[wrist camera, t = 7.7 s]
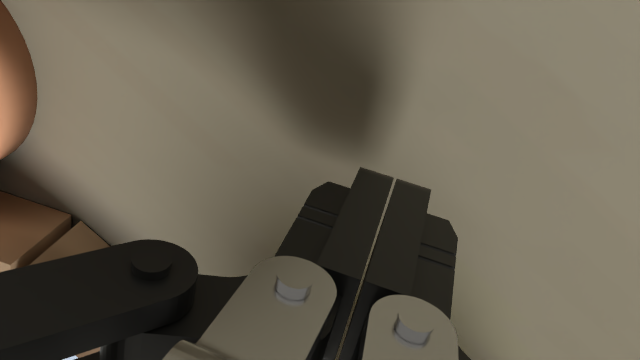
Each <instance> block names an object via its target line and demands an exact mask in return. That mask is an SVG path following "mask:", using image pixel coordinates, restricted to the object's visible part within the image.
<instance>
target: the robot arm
mask: <svg viewBox="0 0 640 360" xmlns="http://www.w3.org/2000/svg"><path fill="white" fill-rule="evenodd" d="M393 179H394V178H393V177H390V176H387V175H383V174H380V173H377V172H374V171H371V170H368V169H365V168H362V167H360V169H359V171H358V173H357V175H356V178H355V180H354V182H353V184H352V186H351V189H350V188H347V187H344V186H341V185H338V184H335V183H332V182H327V183H325V184H323V185H321V186H319V187H317V188H315V189H313V190H312V191H311V193H310V195H309V197H308V199H307V200H306V202H305V204H304V207H302V209H301V211H300V213H299V214H298V217H297V218H296V220H295V221H294V223H293V225H292V227H291V228H290V230H289V232H288V234H287V235H286V237H285V239H284V241H283V242H282V244H281V246H280V248H279V249H278V251H277V253H276V255H275V257H271V258H267V259H265V260H263V261H261V262H260V263H258V264H257V265H256V266H255V267H254V268H253V269H252V271H251V272H250V273H249V275H247V276H242V277H219V276H209V275H200V274H198V266H197V263H196V261H195V259H194V258H193V256H192V255H191V254H190V253H189V252H188V251H186V250H185V249H183V248H182V247H180V246H178V245H175V244H173V243H170V242H166V241H161V240H138V241H132V242H128V243H124V244H119V245H115V246H111V247H106V248H102V249H98V250H94V251H89V252H85V253H81V254H76V255H72V256H68V257H63V258H59V259H55V260H50V261H46V262H42V263H37V264H33V265H29V266H24V267H20V268H16V269H11V270H7V271H3V272H0V360H62V359H65V358H68V357H71V356H74V355H77V354H81V353H84V352H87V351H90V350H93V349H96V348H99V347H100V351H98V352H95V353H93V354H90V355H87V356H84V357H81V358H78V359H75V360H335V357H336V354H337V351H338V348H339V345H340V342H341V339H342V336H343V333H344V330H345V327H346V323H347V320H348V317H349V314H350V311H351V308H352V305H353V302H354V299H355V296H356V293H357V290H358V287H359V284H360V281H361V278H362V275H363V272H364V268H365V265H366V262H367V259H368V256H369V253H370V250H371V247H372V244H373V241H374V238H375V234H376V231H377V228H378V225H379V222H380V219H381V216H382V213H383V210H384V207H385V204H386V200H387V197H388V194H389V191H390V188H391V185H392V182H393ZM430 192H431V189H427V188H424V187H421V186H418V185H415V184H412V183H409V182H406V181H403V180H399V179H397V180H396V183H395V186H394V189H393V192H392V195H391V198H390V201H389V204H388V207H387V210H386V213H385V216H384V219H383V222H382V225H381V228H380V231H379V234H378V237H377V240H376V243H375V246H374V249H373V252H372V255H371V259H370V262H369V265H368V268H367V271H366V274H365V277H364V281H363V284H362V287H361V290H360V293H359V296H358V299H357V303H356V306H355V309H354V312H353V315H352V318H351V322H350V325H349V328H348V331H347V334H346V337H345V341H344V344H343V347H342V350H341V353H340V356H339V360H471V359H470V358H469V357H468V356H467V355H466V354H465V353H464V352H463V351H462V350H461V348H460V347H459V346H458V337H457V332H456V330H455V327H454V326H453V324H452V322H451V321H450V315H451V305H452V294H453V283H454V273H455V271H454V269H455V262H456V257H455V256H456V251H457V241H458V237H457V235H456V233H455V232H454V230H453V228H452V226H451V224H450V222H449V220H445V219H442V218H439V217H436V216H433V215H430V214H427V208H428V203H429V198H430Z"/></svg>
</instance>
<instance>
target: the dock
mask: <svg viewBox="0 0 640 360" xmlns="http://www.w3.org/2000/svg"><path fill="white" fill-rule="evenodd" d="M106 247H110V246H109V245H108V244H107V243H106V242H105V241H103V240H102V239H101V238H100V237H99V236H98V235H97V234H95V233H94V232H93V231H92V230H91V229H90V228H89V227H87V226H86V225H85V224H84V223H83V222H82V221H80V222H79V223H78V224H76V225H75V226H74V227H73V228H72V229H71V215H70V214H67V213H64V212H61V211H58V210H55V209H52V208H49V207H46V206H43V205H40V204H37V203H34V202H31V201H28V200H25V199H22V198H19V197H16V196H13V195H11V194H8V193H5V192H2V191H0V272H3V271H7V270H11V269H16V268H20V267H24V266H29V265H33V264H37V263H42V262H46V261H50V260H55V259H59V258H63V257H68V256H72V255H76V254H81V253H85V252H89V251H94V250H98V249H102V248H106ZM98 351H100V347H99V348H96V349H93V350H90V351H87V352H84V353H81V354H77V355H76V356H77V357H78V358H81V357H84V356H87V355H90V354H93V353H95V352H98Z"/></svg>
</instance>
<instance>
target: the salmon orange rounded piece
mask: <svg viewBox="0 0 640 360" xmlns="http://www.w3.org/2000/svg"><path fill="white" fill-rule="evenodd" d="M36 107H37V83H36V77H35V71H34V67H33V63H32V60H31V56H30V53H29V50H28V48H27V45H26V43H25V40H24V38H23V36H22V34H21V32H20V30H19V28H18V26H17V24H16V22H15V21H14V19H13V17H12V16H11V14H10V13H9V11H8V9H7V8H6V7H5V5H4V4H3V3H2V1H1V0H0V160H1V159H3V158H4V157H6V156H8V155H9V154H10V153H12V152H13V151H15V150H16V149H17V148H18V147H19V146H20V145H21V144H22V143H23V142H24V140H25V138H26V137H27V135H28V134H29V132H30V129H31V127H32V125H33V122H34V118H35V114H36Z"/></svg>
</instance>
